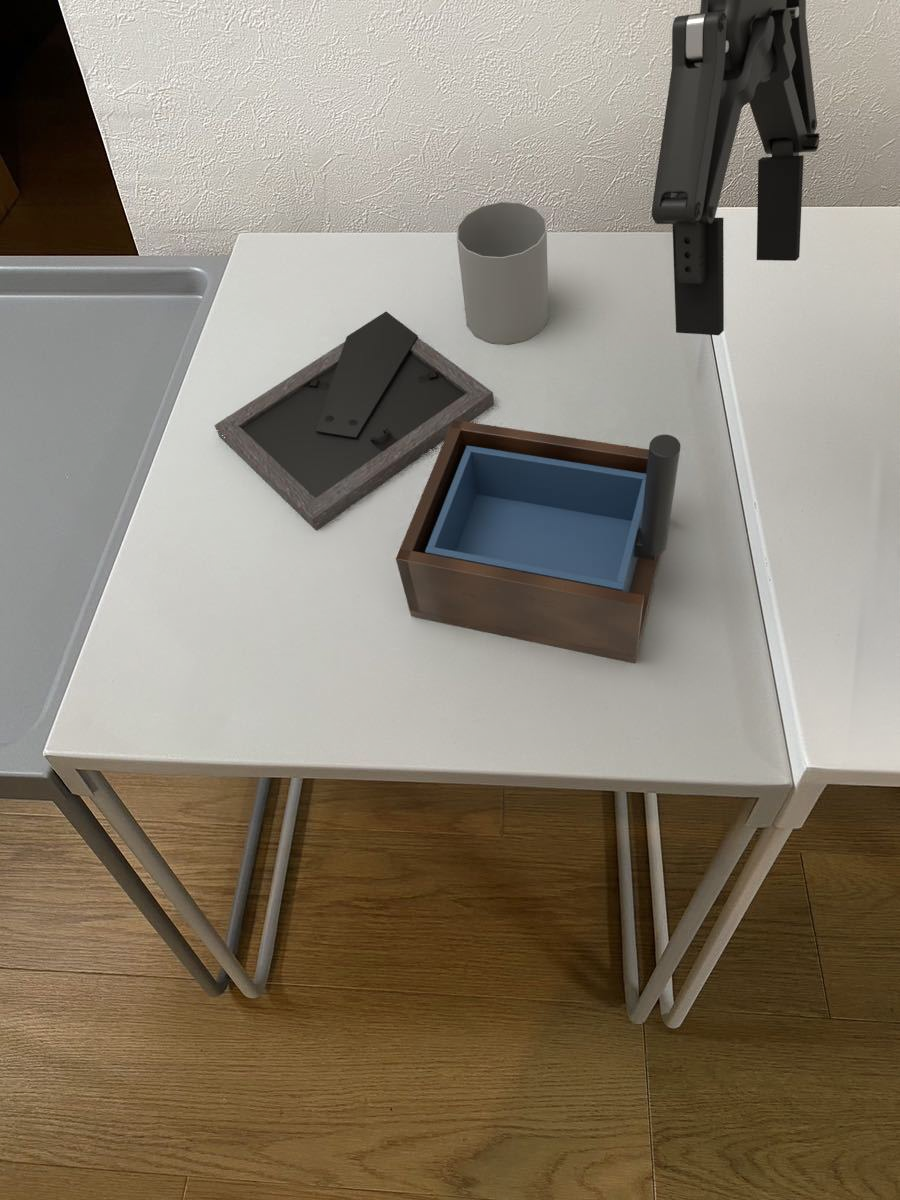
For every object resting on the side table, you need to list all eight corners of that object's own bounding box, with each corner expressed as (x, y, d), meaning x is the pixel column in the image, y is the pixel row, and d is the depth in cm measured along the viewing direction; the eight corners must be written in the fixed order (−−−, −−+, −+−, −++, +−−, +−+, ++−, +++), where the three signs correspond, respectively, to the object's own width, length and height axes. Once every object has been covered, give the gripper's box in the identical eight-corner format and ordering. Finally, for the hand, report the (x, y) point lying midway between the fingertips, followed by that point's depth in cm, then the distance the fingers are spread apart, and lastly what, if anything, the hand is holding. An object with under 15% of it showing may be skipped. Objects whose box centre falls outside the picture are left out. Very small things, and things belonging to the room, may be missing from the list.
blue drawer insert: (673, 526, 76) (694, 388, 63) (648, 639, 71) (665, 512, 58) (472, 492, 80) (454, 356, 68) (434, 595, 75) (406, 468, 62)
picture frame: (389, 326, 95) (219, 436, 89) (386, 311, 93) (212, 422, 87) (493, 404, 88) (316, 530, 81) (492, 388, 86) (310, 516, 80)
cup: (457, 340, 93) (446, 254, 85) (475, 286, 97) (467, 200, 89) (541, 347, 91) (538, 260, 83) (555, 292, 95) (554, 204, 87)
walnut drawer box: (668, 517, 78) (677, 453, 71) (634, 663, 71) (641, 606, 64) (462, 483, 83) (452, 419, 76) (410, 616, 75) (395, 558, 69)
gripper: (759, -117, 58) (754, 233, 70) (564, -76, 43) (600, 364, 55) (887, -144, 54) (858, 233, 66) (722, -110, 39) (724, 374, 51)
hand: (741, 293), depth 60 cm, fingers open, 13 cm apart
